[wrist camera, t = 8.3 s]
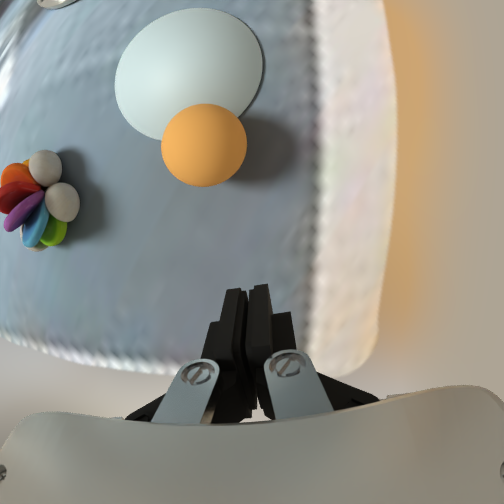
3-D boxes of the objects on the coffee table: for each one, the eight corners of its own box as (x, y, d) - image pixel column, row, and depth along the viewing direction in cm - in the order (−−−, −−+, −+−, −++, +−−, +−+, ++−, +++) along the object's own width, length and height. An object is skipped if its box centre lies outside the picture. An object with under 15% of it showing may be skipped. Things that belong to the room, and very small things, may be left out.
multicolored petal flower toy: (56, 136, 22) (6, 137, 15) (97, 214, 24) (49, 234, 17) (16, 185, 23) (-29, 197, 16) (52, 255, 26) (9, 281, 19)
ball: (156, 199, 17) (210, 203, 23) (229, 147, 15) (273, 166, 20) (136, 127, 18) (188, 143, 23) (197, 74, 15) (243, 104, 20)
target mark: (111, 36, 18) (110, 36, 18) (247, -4, 17) (247, -5, 17) (126, 159, 22) (125, 159, 22) (276, 124, 21) (276, 124, 21)
